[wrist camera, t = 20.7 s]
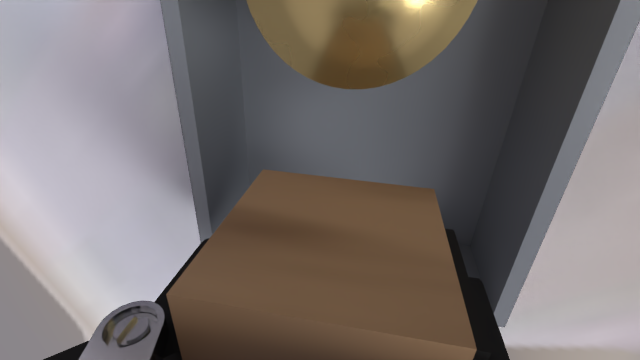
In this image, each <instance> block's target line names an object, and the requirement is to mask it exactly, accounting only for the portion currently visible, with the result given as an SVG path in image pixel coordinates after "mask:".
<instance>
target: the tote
mask: <svg viewBox="0 0 640 360" xmlns="http://www.w3.org/2000/svg"><path fill="white" fill-rule="evenodd" d="M160 2H161V8H162V14H163V20H164V26H165V32H166V38H167V44H168V50H169V56H170V62H171V68H172V74H173V80H174V86H175V92H176V98H177V104H178V110H179V116H180V122H181V127H182V133H183V139H184V145H185V151H186V157H187V163H188V169H189V175H190V181H191V187H192V193H193V199H194V205H195V211H196V217H197V223H198V229H199V235H200V241H201V243H202V242H203V241H204V240H205V239H208V238H209V239H210V237H211V236H212V235H213V233H214V232H215V231H216V230H217V228H218V227H219V226H220V224H221V223H222V222H223V220H224V219H225V218H226V217H227V215H228V214H229V213H230V211H231V210H232V209H233V208H234V206H235V205H236V204H237V202H238V201H239V200H240V199H241V197H242V196H243V195H244V193H245V192H246V191H247V190H248V188H249V187H250V186H251V184H252V183H253V182H254V180H255V179H256V178H257V177H258V175H259V174H260V173H261V171H262V170H263V169H264V170H273V171H281V172H290V173H299V174H308V175H316V176H325V177H334V178H343V179H351V180H360V181H369V182H378V183H386V184H395V185H404V186H413V187H421V188H430V189H434V190H435V194H436V198H437V201H438V205H439V209H440V213H441V217H442V220H443V224H444V228H445V229H453V230H454V232H455V235H456V238H457V241H458V244H459V248H460V251H461V254H462V258H463V261H464V264H465V267H466V271H467V274H468V277H473V278H479V279H480V280H481V281H482V283H483V285H484V288H485V291H486V293H487V296H488V299H489V302H490V305H491V308H492V311H493V313H494V316H495V319H496V322H497V325H498V326H500V327H505V325H506V323H507V321H508V319H509V316H510V314H511V312H512V309H513V307H514V305H515V303H516V300H517V298H518V296H519V294H520V291H521V289H522V287H523V284H524V282H525V280H526V278H527V275H528V273H529V271H530V269H531V266H532V264H533V262H534V259H535V257H536V255H537V253H538V250H539V248H540V246H541V244H542V241H543V239H544V237H545V234H546V232H547V230H548V228H549V225H550V223H551V221H552V219H553V216H554V214H555V212H556V209H557V207H558V205H559V203H560V200H561V198H562V196H563V194H564V191H565V189H566V187H567V184H568V182H569V180H570V178H571V175H572V173H573V171H574V169H575V166H576V164H577V162H578V159H579V157H580V155H581V153H582V150H583V148H584V146H585V144H586V141H587V139H588V137H589V134H590V132H591V130H592V128H593V125H594V123H595V121H596V119H597V116H598V114H599V112H600V109H601V107H602V105H603V103H604V100H605V98H606V96H607V94H608V91H609V89H610V87H611V84H612V82H613V80H614V78H615V75H616V73H617V71H618V69H619V66H620V64H621V62H622V59H623V57H624V55H625V53H626V50H627V48H628V46H629V44H630V41H631V39H632V37H633V34H634V32H635V30H636V28H637V25H638V23H639V21H640V0H478V1H477V3H476V5H475V7H474V8H473V10H472V12H471V14H470V16H469V18H468V19H467V21H466V22H465V24H464V25H463V27H462V28H461V30H460V31H459V32H458V34H457V35H456V36H455V38H454V39H453V40H452V41H451V42H450V43H449V44H448V46H447V47H446V48H445V49H444V50H443V51H442V52H441V53H440V54H438V55H437V56H436V57H435V58H434V59H433V60H432V61H431V62H429V63H428V64H426V65H425V66H424V67H422V68H421V69H419V70H418V71H416V72H414V73H413V74H411V75H409V76H407V77H405V78H403V79H401V80H398V81H396V82H393V83H391V84H388V85H384V86H380V87H376V88H369V89H342V88H335V87H331V86H327V85H324V84H320V83H318V82H316V81H313V80H311V79H309V78H307V77H305V76H303V75H302V74H300V73H299V72H297V71H295V70H294V69H293V68H291V67H290V66H289V65H288V64H286V63H285V62H284V61H283V60H282V59H281V58H280V57H279V56H278V55H277V54H276V53H275V52H274V51H273V49H272V48H271V47H270V45H269V44H268V43H267V42H266V40H265V39H264V37H263V35H262V34H261V32H260V30H259V29H258V27H257V25H256V23H255V21H254V19H253V17H252V14H251V12H250V10H249V7H248V4H247V1H246V0H160Z"/></svg>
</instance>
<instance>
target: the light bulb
mask: <svg viewBox="0 0 640 360" xmlns="http://www.w3.org/2000/svg"><path fill="white" fill-rule="evenodd" d="M246 1H247V4H248V7H249V10H250V12H251V14H252V17H253V19H254V21H255V23H256V25H257V27H258V29H259V30H260V32H261V34H262V35H263V37H264V39H265V40H266V42H267V43H268V44H269V45H270V47H271V48H272V49H273V51H274V52H275V53H276V54H277V55H278V56H279V57H280V58H281V59H282V60H283V61H284V62H285V63H286V64H288V65H289V66H290V67H291V68H293V69H294V70H295V71H297V72H299V73H300V74H302V75H303V76H305V77H307V78H309V79H311V80H313V81H316V82H318V83H320V84H324V85H327V86H331V87H335V88H342V89H369V88H376V87H380V86H384V85H388V84H391V83H393V82H396V81H398V80H401V79H403V78H405V77H407V76H409V75H411V74H413V73H414V72H416V71H418V70H419V69H421V68H422V67H424V66H425V65H426V64H428V63H429V62H431V61H432V60H433V59H434V58H435V57H436V56H437V55H438V54H440V53H441V52H442V51H443V50H444V49H445V48H446V47H447V46H448V44H449V43H450V42H451V41H452V40H453V39H454V38H455V36H456V35H457V34H458V32H459V31H460V30H461V28H462V27H463V25H464V24H465V22H466V21H467V19H468V18H469V16H470V14H471V12H472V10H473V8H474V7H475V5H476V3H477V1H478V0H246Z"/></svg>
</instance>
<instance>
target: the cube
mask: <svg viewBox="0 0 640 360" xmlns="http://www.w3.org/2000/svg"><path fill="white" fill-rule="evenodd" d="M166 296H167V300H168V304H169V308H170V312H171V316H172V320H173V324H174V328H175V332H176V336H177V340H178V344H179V348H180V352H181V356H182V360H473V358H474V355H475V353H476V350H477V348H476V344H475V341H474V337H473V333H472V329H471V326H470V322H469V318H468V314H467V310H466V307H465V303H464V299H463V295H462V292H461V288H460V284H459V280H458V277H457V273H456V269H455V265H454V262H453V258H452V254H451V250H450V247H449V243H448V239H447V235H446V232H445V228H444V224H443V220H442V217H441V213H440V209H439V205H438V201H437V198H436V194H435V190H434V189H430V188H421V187H413V186H404V185H395V184H386V183H378V182H369V181H360V180H351V179H343V178H334V177H325V176H316V175H308V174H299V173H290V172H281V171H273V170H264V169H263V170H262V171H261V173H260V174H259V175H258V177H257V178H256V179H255V180H254V182H253V183H252V184H251V186H250V187H249V188H248V190H247V191H246V192H245V193H244V195H243V196H242V197H241V199H240V200H239V201H238V202H237V204H236V205H235V206H234V208H233V209H232V210H231V211H230V213H229V214H228V215H227V217H226V218H225V219H224V220H223V222H222V223H221V224H220V226H219V227H218V228H217V230H216V231H215V232H214V233H213V235H212V236H211V237H210V239H209V240H208V241H207V242H206V244H205V245H204V246H203V248H202V249H201V250H200V251H199V253H198V254H197V255H196V257H195V258H194V259H193V260H192V262H191V263H190V264H189V266H188V267H187V268H186V270H185V271H184V272H183V273H182V275H181V276H180V277H179V279H178V280H177V281H176V282H175V284H174V285H173V286H172V288H171V289H170V290H169V291H168V293H167V294H166Z"/></svg>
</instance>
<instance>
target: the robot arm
mask: <svg viewBox="0 0 640 360" xmlns="http://www.w3.org/2000/svg"><path fill="white" fill-rule="evenodd" d="M445 232H446V235H447V239H448V243H449V247H450V250H451V254H452V258H453V262H454V265H455V269H456V273H457V277H458V280H459V284H460V288H461V292H462V295H463V299H464V303H465V307H466V310H467V314H468V318H469V322H470V326H471V329H472V333H473V337H474V341H475V344H476V348H477V350H476V353H475V355H474V358H473V360H510V359H509V356H508V353H507V351H506V348H505V345H504V342H503V339H502V336H501V333H500V331H499V328H498V325H497V322H496V319H495V316H494V313H493V311H492V308H491V305H490V302H489V299H488V296H487V293H486V291H485V288H484V285H483V283H482V281H481V280H480V279H479V278H473V277H468V274H467V271H466V267H465V264H464V261H463V258H462V254H461V251H460V248H459V244H458V241H457V238H456V235H455V232H454V230H453V229H445ZM208 240H209V238H208V239H205V240H204V241H203V242H202V243H201V244H200V245H199V247H198V248H197V249H196V250H195V252H194V253H193V254H192V255H191V257H190V258H189V259H188V260H187V262H186V263H185V264H184V265H183V267H182V268H181V269H180V271H179V272H178V273H177V274H176V276H175V277H174V278H173V279H172V281H171V282H170V283H169V284H168V286H167V287H166V288H165V289H164V291H163V292H162V293H161V294H160V296H159V297H158V298H157V300H156V301H155V302H152V301H137V302H132V303H129V304H126V305H123V306H121V307H119V308H118V309H116V310H114V311H112V312H111V313H110V314H109V315H108V316H106V317H105V318H104V319H103V320H102V322H101V323H100V324H99V326H98V327H97V328H96V330H95V332H94V334H93V335H92V337H91V339H90V340H89V341H87V342H85V343H82V344H80V345H78V346H75V347H72V348H70V349H68V350H65V351H63V352H60V353H58V354H56V355H53V356H51V357H48V358H46V359H44V360H182V356H181V352H180V348H179V344H178V340H177V336H176V332H175V328H174V324H173V320H172V316H171V312H170V308H169V304H168V300H167V296H166V294H167V293H168V291H169V290H170V289H171V288H172V286H173V285H174V284H175V282H176V281H177V280H178V279H179V277H180V276H181V275H182V273H183V272H184V271H185V270H186V268H187V267H188V266H189V264H190V263H191V262H192V260H193V259H194V258H195V257H196V255H197V254H198V253H199V251H200V250H201V249H202V248H203V246H204V245H205V244H206V242H207V241H208Z"/></svg>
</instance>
